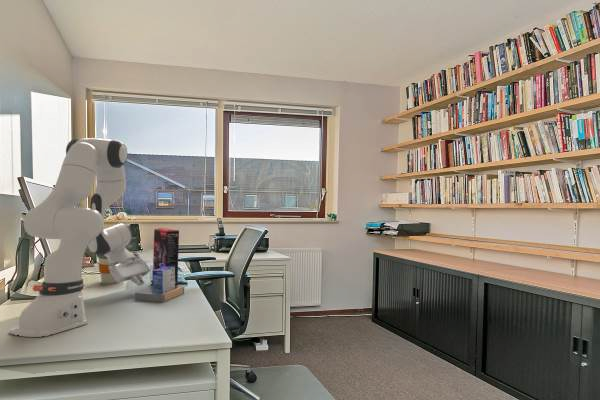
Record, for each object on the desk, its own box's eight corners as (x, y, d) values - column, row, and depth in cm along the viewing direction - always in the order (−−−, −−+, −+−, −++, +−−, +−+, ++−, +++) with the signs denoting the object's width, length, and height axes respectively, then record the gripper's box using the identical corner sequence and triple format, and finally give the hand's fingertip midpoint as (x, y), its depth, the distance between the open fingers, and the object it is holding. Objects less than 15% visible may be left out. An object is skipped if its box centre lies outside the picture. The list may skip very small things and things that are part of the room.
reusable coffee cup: (105, 278, 212) (106, 249, 212) (129, 279, 212) (129, 250, 212) (92, 283, 200) (92, 253, 200) (117, 284, 199) (118, 253, 199)
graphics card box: (151, 282, 205) (152, 228, 205) (165, 281, 210) (166, 227, 210) (165, 288, 192) (166, 230, 192) (179, 286, 197) (180, 230, 197)
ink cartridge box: (164, 293, 182) (164, 261, 182) (175, 294, 181) (176, 261, 181) (151, 298, 173) (151, 264, 173) (163, 299, 171) (163, 265, 171)
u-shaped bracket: (162, 302, 167) (163, 295, 167) (135, 299, 170) (135, 292, 170) (184, 293, 184) (184, 286, 184) (158, 291, 187) (158, 284, 187)
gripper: (110, 259, 171) (130, 284, 169) (141, 253, 191) (159, 275, 188) (101, 269, 172) (121, 294, 170) (132, 262, 192) (150, 284, 190)
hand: (141, 284), depth 179 cm, fingers closed
